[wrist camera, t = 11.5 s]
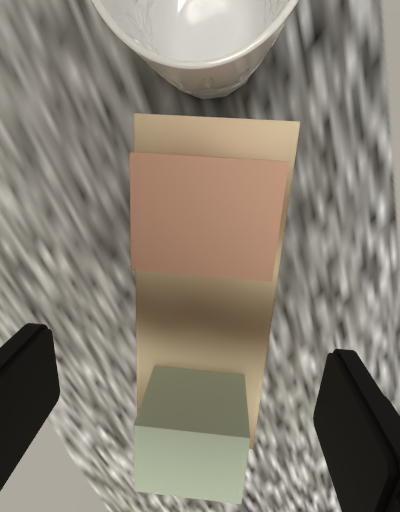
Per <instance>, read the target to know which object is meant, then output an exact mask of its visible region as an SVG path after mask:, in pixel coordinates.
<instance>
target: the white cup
mask: <svg viewBox="0 0 400 512" xmlns="http://www.w3.org/2000/svg"><path fill="white" fill-rule="evenodd" d="M92 2H93V4H94V6H95V7H96V9H97V11H98V12H99V14H100V15H101V17H102V18H103V20H104V21H105V22H106V24H107V25H108V26H109V27H110V29H111V30H112V31H113V32H114V33H115V34H116V35H117V36H118V37H119V38H120V39H121V40H122V41H123V42H124V43H125V44H126V45H127V46H129V47H130V48H131V49H132V50H133V51H134V52H135V53H136V54H137V55H138V56H139V57H140V58H141V59H143V60H144V61H145V62H146V63H147V64H148V65H149V66H150V67H151V68H152V69H153V70H154V71H156V72H157V73H158V74H159V75H161V76H162V77H163V78H164V79H166V80H167V81H168V82H169V83H171V84H172V85H174V86H176V87H177V88H178V89H179V90H180V91H182V92H185V93H187V94H190V95H192V96H195V97H197V98H200V99H210V98H219V97H226V96H227V95H229V94H230V93H232V92H233V91H235V90H236V89H238V88H239V87H241V86H242V85H244V84H245V83H247V81H248V79H249V78H250V76H251V75H252V73H253V72H254V71H255V70H256V69H257V68H258V66H259V65H260V64H261V62H262V61H263V59H264V58H265V56H266V55H267V53H268V52H269V50H270V49H271V47H272V46H273V44H274V42H275V41H276V39H277V37H278V35H279V33H280V32H281V30H282V28H283V26H284V24H285V23H286V21H287V19H288V17H289V16H290V14H291V12H292V10H293V9H294V7H295V5H296V4H297V2H298V0H92Z"/></svg>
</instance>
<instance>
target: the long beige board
mask: <svg viewBox="0 0 400 512" xmlns="http://www.w3.org/2000/svg"><path fill="white" fill-rule="evenodd" d="M299 127H300V122H296V121H277V120H257V119H238V118H218V117H198V116H179V115H159V114H139V113H134V152H139V153H161V154H178V155H194V156H211V157H228V158H244V159H261V160H275V161H287V162H289V165H288V172H287V179H286V186H285V193H284V200H283V207H282V214H281V221H280V229H279V236H278V243H277V250H276V257H275V264H274V271H273V278H272V281H260V280H248V279H236V278H224V277H212V276H200V275H188V274H176V273H163V272H151V271H139V270H136V348H137V414H138V411H139V408H140V405H141V403H142V400H143V397H144V394H145V391H146V388H147V385H148V382H149V379H150V376H151V373H152V370H153V367H154V366H164V367H175V368H185V369H195V370H205V371H215V372H225V373H235V374H245V384H246V395H247V407H248V418H249V430H250V444H249V449H253V445H254V438H255V431H256V424H257V417H258V410H259V403H260V397H261V390H262V383H263V376H264V369H265V362H266V355H267V348H268V341H269V334H270V328H271V321H272V314H273V307H274V300H275V293H276V286H277V279H278V272H279V265H280V259H281V252H282V245H283V238H284V231H285V224H286V217H287V210H288V203H289V196H290V190H291V183H292V176H293V169H294V162H295V155H296V148H297V141H298V134H299Z"/></svg>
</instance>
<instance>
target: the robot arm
mask: <svg viewBox="0 0 400 512" xmlns="http://www.w3.org/2000/svg"><path fill="white" fill-rule="evenodd" d="M59 395H60V386H59V379H58V372H57V364H56V357H55V350H54V342H53V335H52V331H51V330H50V329H48V327H47V326H46V325H44V324H33V323H27V324H26V325H24V326H23V327H22V328H21V329H20V330H19V331H18V332H17V333H16V334H15V335H13V336H12V337H11V338H10V339H9V340H8V341H7V342H6V343H5V344H4V345H3V346H2V347H1V348H0V491H1V489H2V488H3V486H4V484H5V483H6V481H7V480H8V478H9V476H10V475H11V473H12V472H13V470H14V469H15V467H16V466H17V464H18V463H19V461H20V459H21V458H22V456H23V455H24V453H25V452H26V450H27V449H28V447H29V445H30V444H31V442H32V441H33V439H34V438H35V436H36V434H37V433H38V431H39V430H40V428H41V427H42V425H43V423H44V422H45V420H46V419H47V417H48V416H49V414H50V412H51V411H52V409H53V408H54V406H55V405H56V403H57V401H58V399H59ZM313 420H314V426H315V430H316V433H317V436H318V439H319V442H320V445H321V448H322V451H323V454H324V457H325V460H326V464H327V467H328V470H329V473H330V476H331V479H332V482H333V485H334V488H335V491H336V494H337V497H338V500H339V503H340V506H341V510H342V512H400V416H399V414H398V413H397V411H396V410H395V408H394V407H393V405H392V404H391V402H390V401H389V400H388V399H387V397H385V396H384V395H383V394H382V392H381V390H380V389H379V387H378V386H377V384H376V383H375V381H374V380H373V378H372V376H371V375H370V373H369V372H368V370H367V369H366V367H365V365H364V364H363V362H362V361H361V359H360V358H359V356H358V355H357V353H356V352H355V351H353V350H344V349H335V350H334V351H333V353H329V354H328V356H327V360H326V364H325V368H324V373H323V377H322V381H321V385H320V390H319V394H318V398H317V402H316V406H315V411H314V416H313Z"/></svg>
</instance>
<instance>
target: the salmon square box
mask: <svg viewBox="0 0 400 512" xmlns="http://www.w3.org/2000/svg"><path fill="white" fill-rule="evenodd" d="M129 153H130V224H131V270H139V271H151V272H163V273H176V274H188V275H200V276H212V277H224V278H236V279H248V280H260V281H272V278H273V271H274V264H275V257H276V250H277V243H278V236H279V229H280V221H281V214H282V207H283V200H284V193H285V186H286V179H287V172H288V165H289V162H287V161H275V160H261V159H244V158H228V157H211V156H194V155H178V154H161V153H139V152H129Z"/></svg>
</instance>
